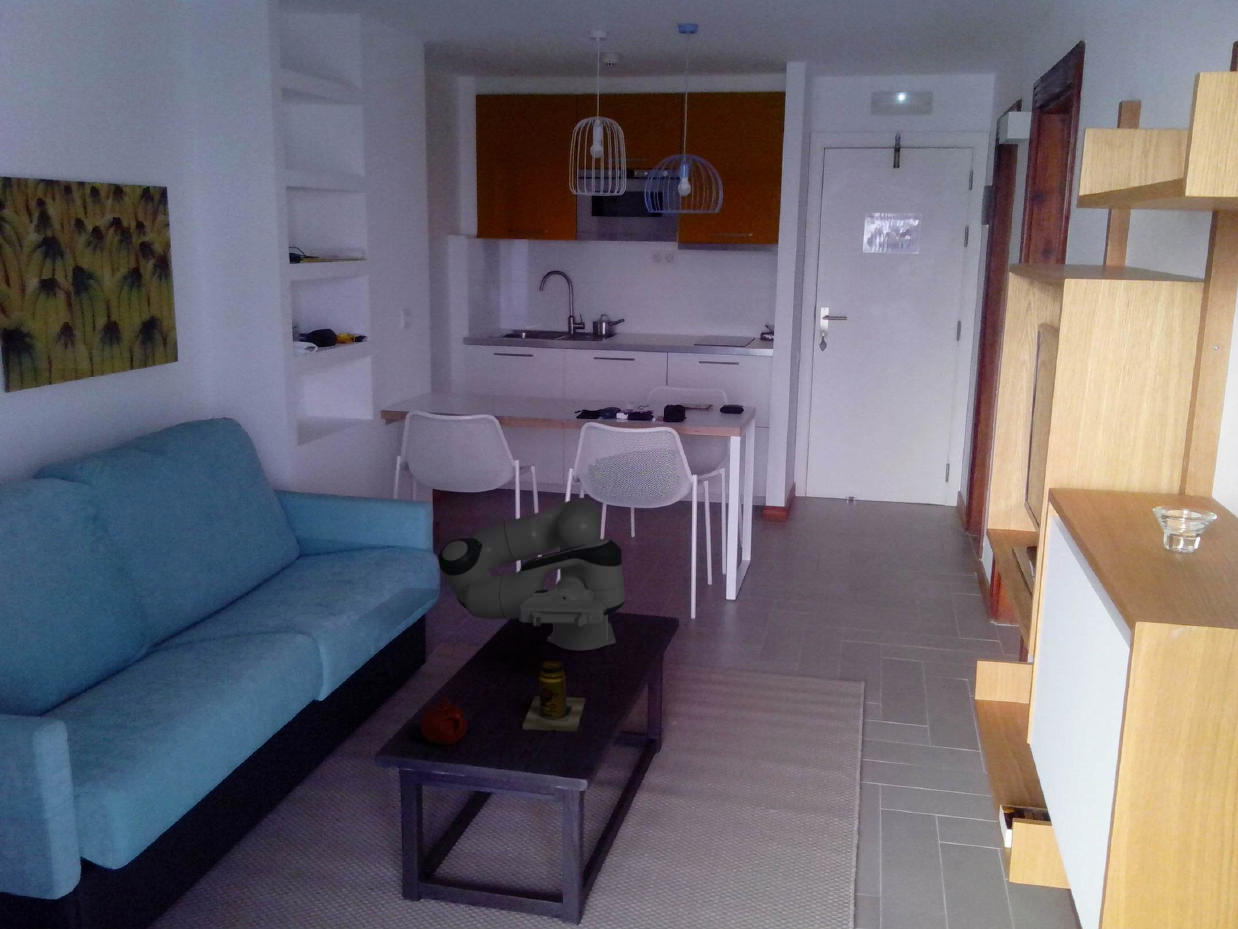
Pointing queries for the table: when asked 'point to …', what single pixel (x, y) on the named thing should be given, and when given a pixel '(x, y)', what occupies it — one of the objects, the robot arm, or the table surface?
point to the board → (560, 725)
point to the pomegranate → (444, 723)
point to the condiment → (553, 693)
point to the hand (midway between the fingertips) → (556, 623)
